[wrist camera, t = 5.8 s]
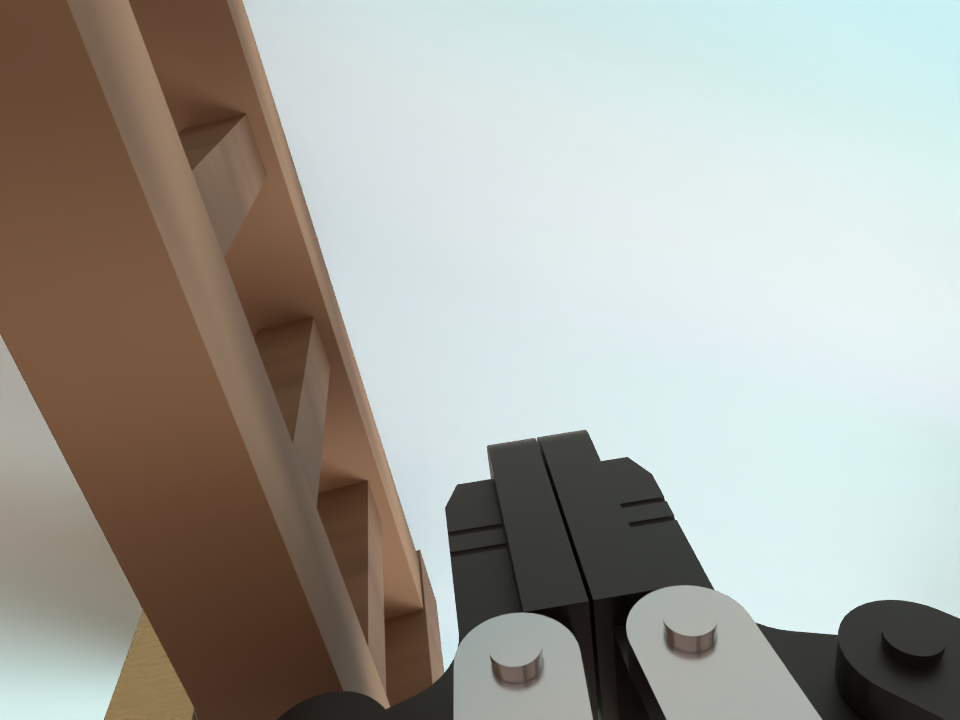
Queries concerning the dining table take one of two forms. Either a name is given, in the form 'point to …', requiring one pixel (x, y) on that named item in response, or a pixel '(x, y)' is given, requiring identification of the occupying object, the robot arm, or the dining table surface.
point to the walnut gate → (200, 356)
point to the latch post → (149, 683)
